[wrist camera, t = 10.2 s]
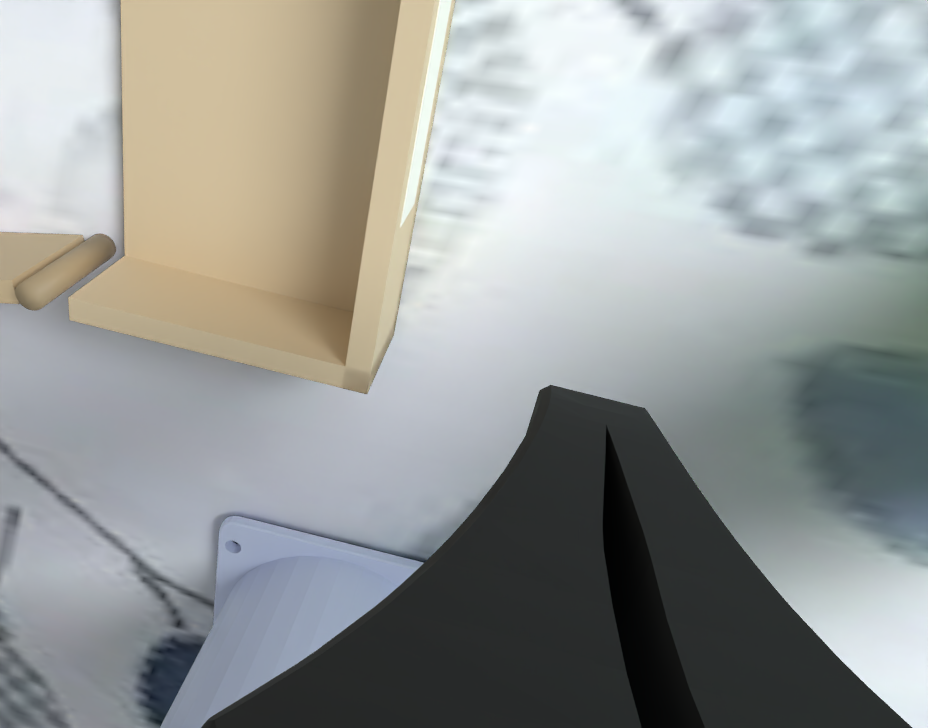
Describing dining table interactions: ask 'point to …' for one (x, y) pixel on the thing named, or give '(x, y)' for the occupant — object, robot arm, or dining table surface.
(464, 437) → the dining table surface
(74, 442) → the dining table surface
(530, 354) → the dining table surface
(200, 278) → the open cardboard tray
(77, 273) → the flap
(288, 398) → the dining table surface
